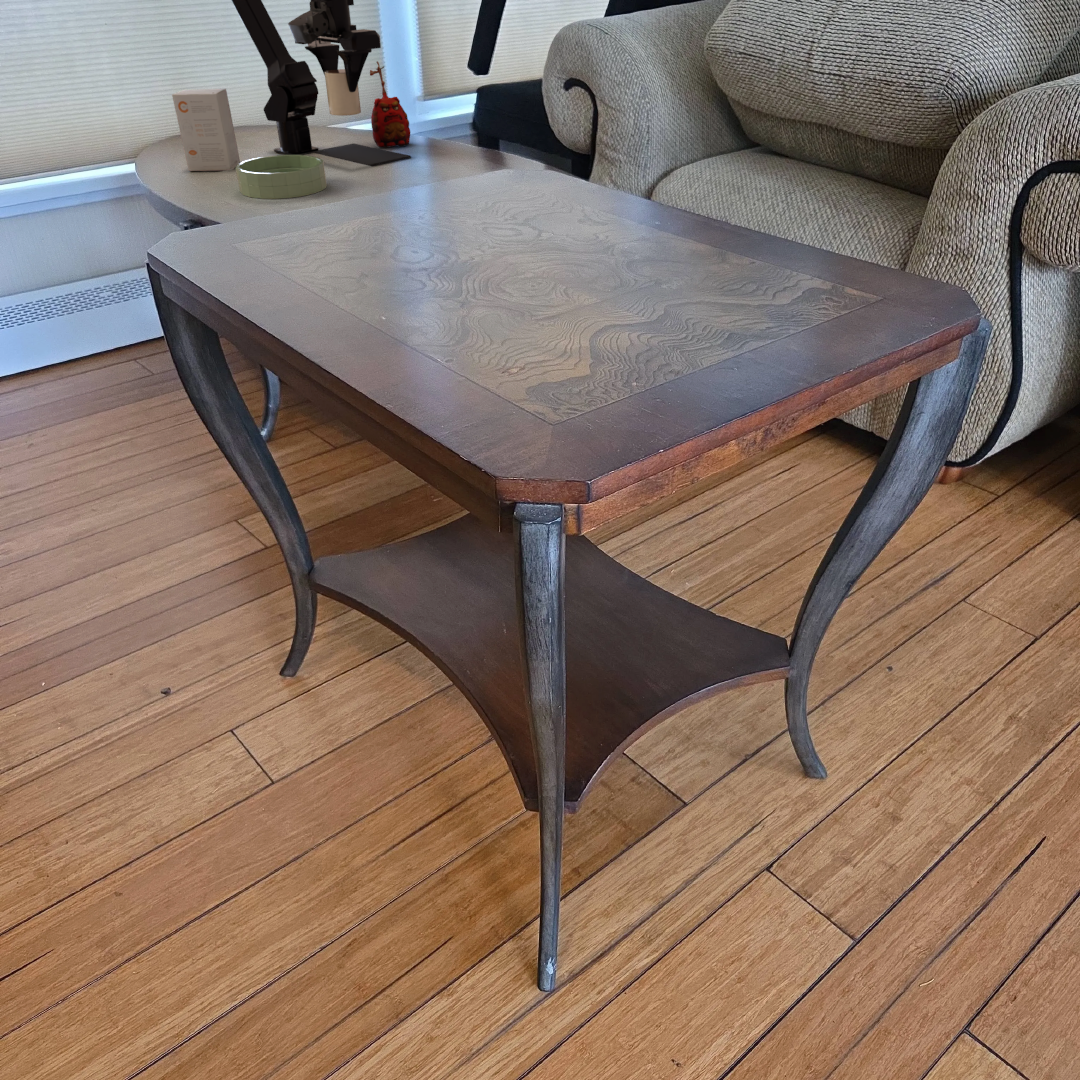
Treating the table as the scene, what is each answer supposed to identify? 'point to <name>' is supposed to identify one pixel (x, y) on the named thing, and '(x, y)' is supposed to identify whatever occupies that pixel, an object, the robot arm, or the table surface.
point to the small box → (206, 129)
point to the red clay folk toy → (389, 119)
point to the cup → (341, 94)
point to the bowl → (281, 176)
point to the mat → (361, 154)
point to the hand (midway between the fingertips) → (342, 90)
